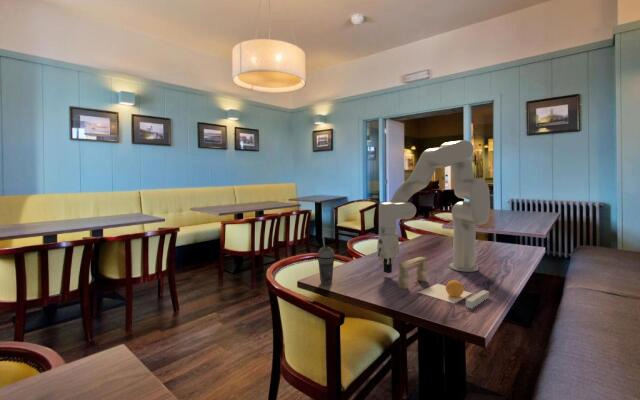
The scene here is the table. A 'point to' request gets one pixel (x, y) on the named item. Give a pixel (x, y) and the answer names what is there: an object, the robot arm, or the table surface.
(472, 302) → the wall
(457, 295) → the ball
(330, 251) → the beverage cup
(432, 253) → the table surface
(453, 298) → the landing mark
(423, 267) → the bridge
